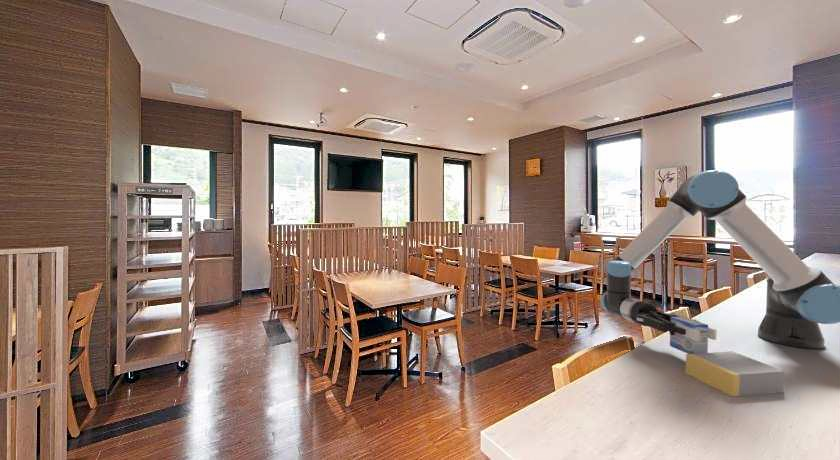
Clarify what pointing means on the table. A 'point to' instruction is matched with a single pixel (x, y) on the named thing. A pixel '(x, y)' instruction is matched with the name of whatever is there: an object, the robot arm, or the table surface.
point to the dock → (735, 373)
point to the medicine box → (687, 343)
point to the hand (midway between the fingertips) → (706, 335)
